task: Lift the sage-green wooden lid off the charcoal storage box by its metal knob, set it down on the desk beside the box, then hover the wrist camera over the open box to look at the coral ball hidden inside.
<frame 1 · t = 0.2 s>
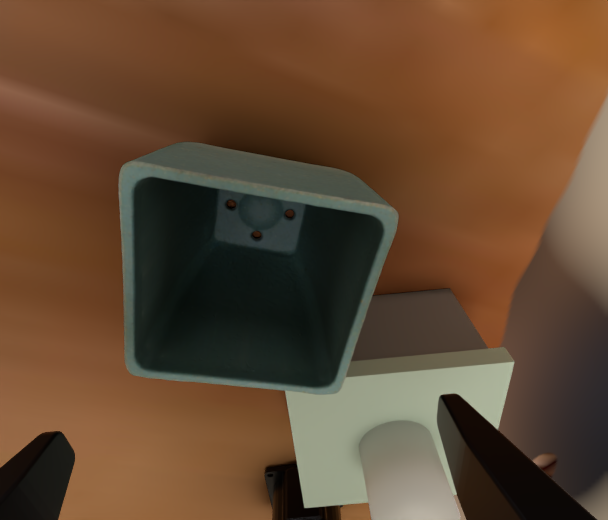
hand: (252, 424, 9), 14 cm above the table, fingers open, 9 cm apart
storage box: (371, 353, 27), on the table
lid: (391, 428, 22), point 6 cm above the table, touching storage box
flower pot: (263, 205, 22), on the table
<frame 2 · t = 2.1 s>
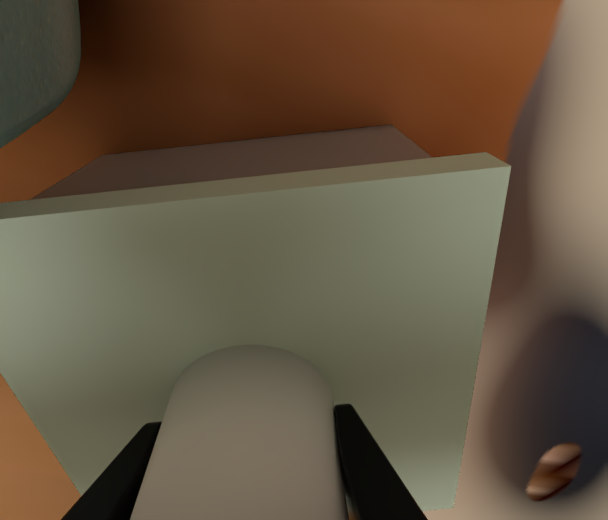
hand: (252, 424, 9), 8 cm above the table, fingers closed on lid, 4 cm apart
storage box: (266, 265, 16), on the table
lid: (256, 376, 11), point 6 cm above the table, touching gripper, storage box
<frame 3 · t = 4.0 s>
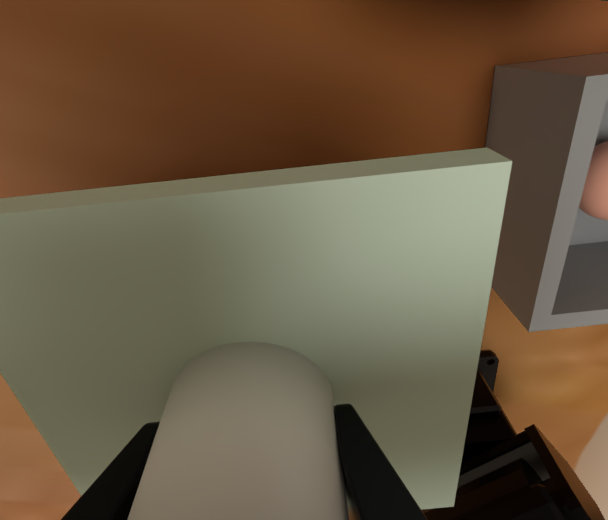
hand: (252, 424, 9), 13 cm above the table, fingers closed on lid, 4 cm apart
storage box: (582, 165, 19), on the table
lid: (255, 373, 11), point 11 cm above the table, touching gripper
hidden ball: (590, 168, 19), point 1 cm above the table, touching storage box
when the fingers open (3 cm above the table, at t = 6.1 s): lid drops 2 cm, on the table.
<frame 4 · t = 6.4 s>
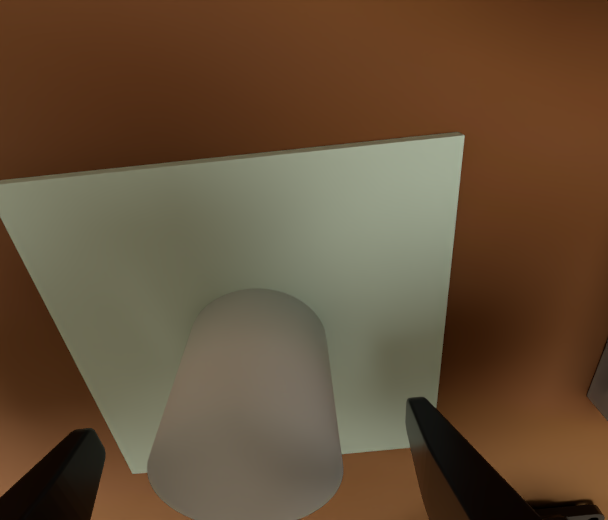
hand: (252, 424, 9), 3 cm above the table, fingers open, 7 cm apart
lid: (260, 323, 12), on the table
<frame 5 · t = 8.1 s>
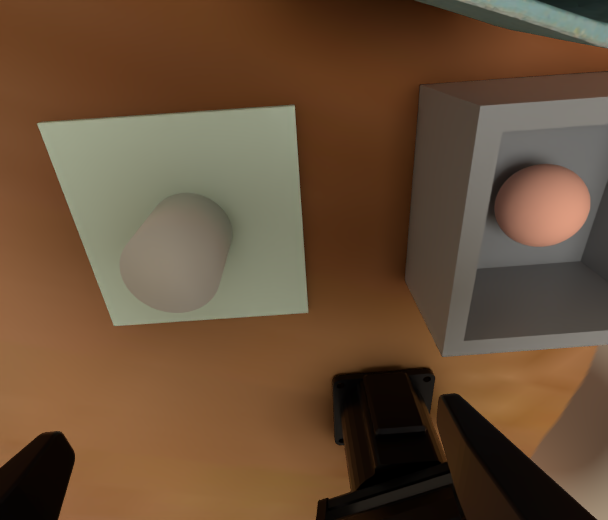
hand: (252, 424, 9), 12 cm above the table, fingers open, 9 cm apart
storage box: (512, 187, 19), on the table
lid: (195, 223, 20), on the table
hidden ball: (518, 191, 19), point 1 cm above the table, touching storage box
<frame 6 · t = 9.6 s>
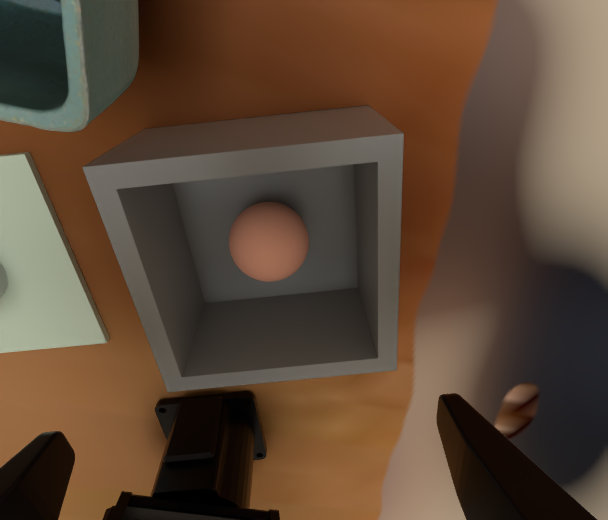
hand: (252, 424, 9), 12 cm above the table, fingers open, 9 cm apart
storage box: (271, 220, 20), on the table
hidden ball: (270, 225, 19), point 1 cm above the table, touching storage box
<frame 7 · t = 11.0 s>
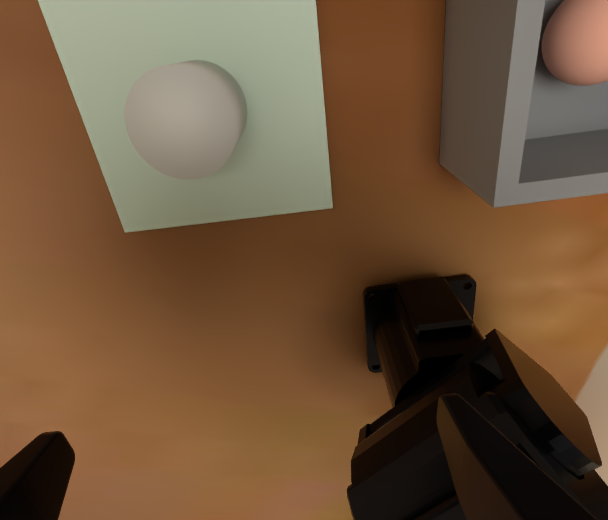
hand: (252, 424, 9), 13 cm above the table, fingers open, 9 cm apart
storage box: (558, 35, 17), on the table
lid: (207, 106, 19), on the table
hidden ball: (567, 35, 16), point 1 cm above the table, touching storage box
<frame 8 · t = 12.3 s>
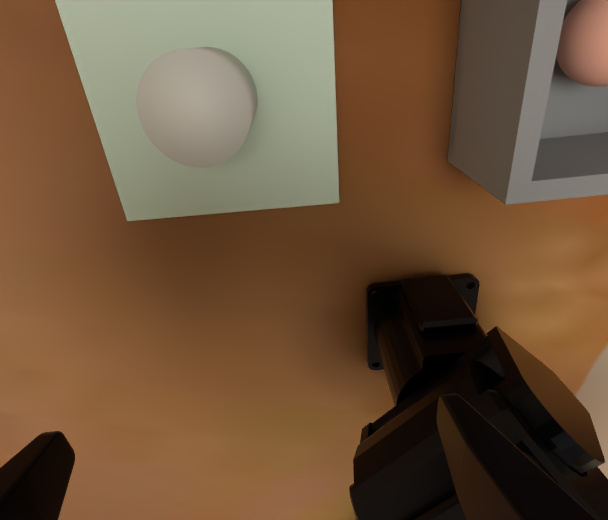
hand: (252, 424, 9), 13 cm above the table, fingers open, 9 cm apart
storage box: (571, 36, 17), on the table
lid: (216, 95, 18), on the table
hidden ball: (580, 35, 17), point 1 cm above the table, touching storage box
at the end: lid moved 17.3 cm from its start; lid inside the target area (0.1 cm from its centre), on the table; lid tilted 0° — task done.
